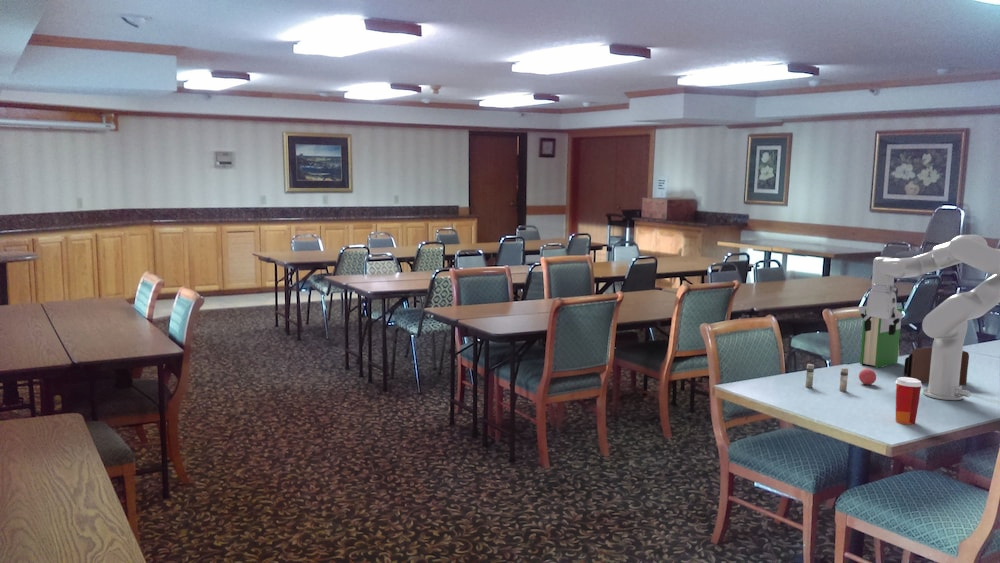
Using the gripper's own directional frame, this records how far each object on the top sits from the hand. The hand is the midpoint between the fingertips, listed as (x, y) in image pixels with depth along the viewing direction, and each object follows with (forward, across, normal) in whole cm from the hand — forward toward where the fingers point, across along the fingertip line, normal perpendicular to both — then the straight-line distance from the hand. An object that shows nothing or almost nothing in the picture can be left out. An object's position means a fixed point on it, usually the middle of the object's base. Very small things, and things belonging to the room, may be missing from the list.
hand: (879, 332), depth 299 cm
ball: (+16, -2, +9) cm, 19 cm away
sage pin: (+19, +7, +33) cm, 38 cm away
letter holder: (+20, -11, -21) cm, 31 cm away
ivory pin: (+19, -2, +26) cm, 32 cm away
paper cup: (+20, -35, +44) cm, 60 cm away
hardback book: (+19, +16, -29) cm, 38 cm away
